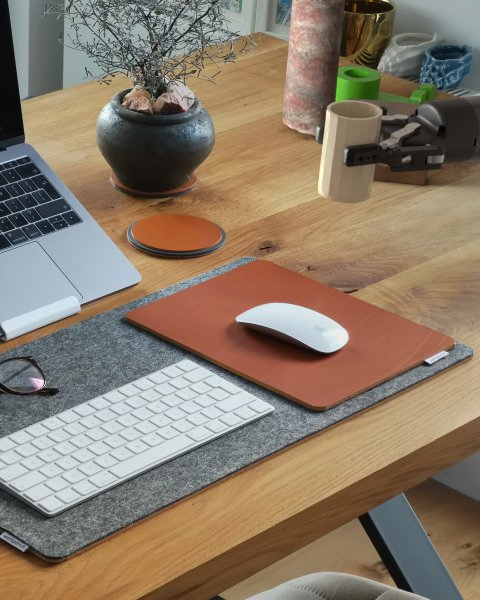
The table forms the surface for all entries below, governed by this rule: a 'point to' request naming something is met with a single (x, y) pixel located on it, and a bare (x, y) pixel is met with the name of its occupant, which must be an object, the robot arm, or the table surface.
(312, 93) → the candle
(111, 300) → the table surface
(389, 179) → the dark walnut wood block
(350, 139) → the pen cup
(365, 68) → the tape dispenser
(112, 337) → the table surface
